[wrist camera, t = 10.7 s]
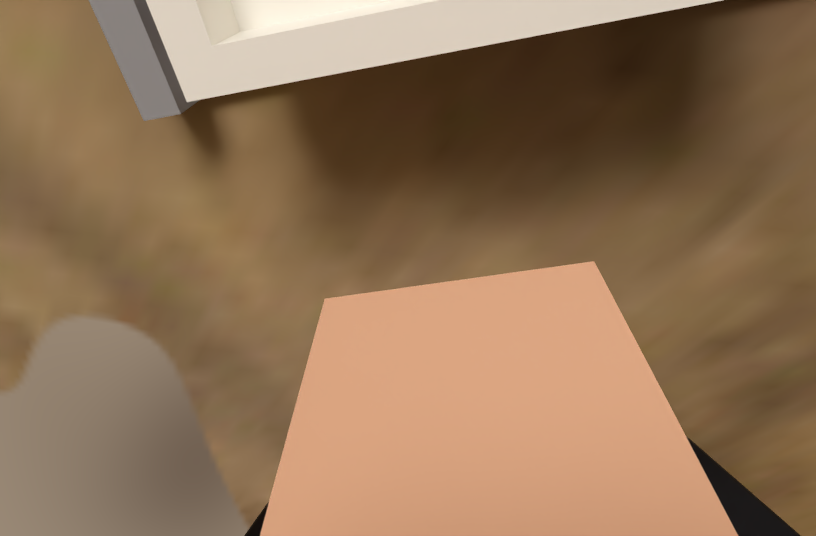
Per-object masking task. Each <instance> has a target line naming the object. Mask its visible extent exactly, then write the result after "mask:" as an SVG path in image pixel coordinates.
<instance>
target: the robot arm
mask: <svg viewBox="0 0 816 536" xmlns="http://www.w3.org/2000/svg"><path fill="white" fill-rule="evenodd" d="M686 437H687V436H686ZM687 439H688V441H689V443H690V445H691V447H692V449H693V451H694V453H695V455H696V456H697V458H698V460H699V462H700V464H701V466H702V468H703V470H704V472H705V474H706V475H707V477H708V479H709V481H710V483H711V485H712V487H713V489H714V491H715V493H716V494H717V496H718V498H719V500H720V502H721V504H722V506H723V508H724V510H725V512H726V514H727V515H728V517H729V519H730V521H731V523H732V525H733V527H734V529H735V531H736V533H737V534H738V536H800V535H799V534H798V533H797V532H796V531H795V530H794V529H792V528H791V527H790V526H789V525H788V524H787V523H786V522H784V521H783V520H782V519H781V518H780V517H779V516H777V515H776V514H775V513H774V512H773V511H772V510H771V509H769V508H768V507H767V506H766V505H765V504H764V503H763V502H761V501H760V500H759V499H758V498H757V497H756V496H755V495H753V494H752V493H751V492H750V491H749V490H748V489H746V488H745V487H744V486H743V485H742V484H741V483H740V482H738V481H737V480H736V479H735V478H734V477H733V476H732V475H730V474H729V473H728V472H727V471H726V470H725V469H723V468H722V467H721V466H720V465H719V464H718V463H717V462H715V461H714V460H713V459H712V458H711V457H710V456H709V455H707V454H706V453H705V452H704V451H703V450H702V449H701V448H699V447H698V446H697V445H696V444H695V443H694V442H692V441H691V440H690V439H689V438H688V437H687ZM268 504H269V502H268V503H267V505H266V506H265V508H264V509H263V510H262V512H261V513H260V515H259V516H258V517H257V519H256V520H255V522H254V523H253V524H252V526H251V527H250V529H249V530H248V531H247V533H246V534H245V536H260V533H261V529H262V526H263V522H264V519H265V515H266V511H267V508H268Z"/></svg>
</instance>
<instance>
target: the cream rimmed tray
mask: <svg viewBox="0 0 816 536" xmlns="http://www.w3.org/2000/svg"><path fill="white" fill-rule="evenodd" d="M717 1H722V0H146V2H147V5H148V7H149V10H150V12H151V15H152V17H153V20H154V22H155V25H156V27H157V30H158V32H159V34H160V37H161V39H162V42H163V44H164V47H165V49H166V52H167V54H168V57H169V59H170V62H171V64H172V67H173V69H174V72H175V74H176V76H177V79H178V81H179V84H180V86H181V89H182V91H183V94H184V96H185V99H186V101H187V102H191V101H196V100H201V99H206V98H212V97H217V96H222V95H228V94H233V93H238V92H243V91H249V90H254V89H259V88H264V87H270V86H275V85H280V84H285V83H291V82H296V81H301V80H307V79H312V78H317V77H322V76H328V75H333V74H338V73H343V72H349V71H354V70H359V69H364V68H370V67H375V66H380V65H385V64H391V63H396V62H401V61H407V60H412V59H417V58H422V57H428V56H433V55H438V54H443V53H449V52H454V51H459V50H464V49H470V48H475V47H480V46H486V45H491V44H496V43H501V42H507V41H512V40H517V39H522V38H528V37H533V36H538V35H543V34H549V33H554V32H559V31H564V30H570V29H575V28H580V27H586V26H591V25H596V24H601V23H607V22H612V21H617V20H622V19H628V18H633V17H638V16H643V15H649V14H654V13H659V12H665V11H670V10H675V9H680V8H686V7H691V6H696V5H701V4H707V3H712V2H717Z"/></svg>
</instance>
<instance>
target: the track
mask: <svg viewBox="0 0 816 536" xmlns="http://www.w3.org/2000/svg"><path fill="white" fill-rule="evenodd" d="M89 2H90V4H91V6H92V8H93V11H94V13H95V15H96V17H97V19H98V22H99V24H100V26H101V28H102V30H103V32H104V35H105V37H106V39H107V41H108V43H109V46H110V48H111V50H112V52H113V54H114V57H115V59H116V61H117V63H118V65H119V68H120V70H121V72H122V74H123V76H124V78H125V81H126V83H127V85H128V87H129V89H130V92H131V94H132V96H133V98H134V100H135V103H136V105H137V107H138V109H139V111H140V113H141V116H142V118H143V120H144V121H146V120H151V119H157V118H162V117H167V116H173V115H178V114H181V113H183V112H184V111H185V110H187V109H188V108H190V107H191V106H192V105H194V104H195V103H197V102H198V101H199V100H196V101H191V102H187V101H186V99H185V96H184V94H183V91H182V89H181V86H180V84H179V81H178V79H177V76H176V74H175V72H174V69H173V67H172V64H171V62H170V59H169V57H168V54H167V52H166V49H165V47H164V44H163V42H162V39H161V37H160V34H159V32H158V30H157V27H156V25H155V22H154V20H153V17H152V15H151V12H150V10H149V7H148V5H147V2H146V0H89Z"/></svg>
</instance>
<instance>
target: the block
mask: <svg viewBox="0 0 816 536" xmlns="http://www.w3.org/2000/svg"><path fill="white" fill-rule="evenodd" d="M260 536H738V534H737V533H736V531H735V529H734V527H733V525H732V523H731V521H730V519H729V517H728V515H727V514H726V512H725V510H724V508H723V506H722V504H721V502H720V500H719V498H718V496H717V494H716V493H715V491H714V489H713V487H712V485H711V483H710V481H709V479H708V477H707V475H706V474H705V472H704V470H703V468H702V466H701V464H700V462H699V460H698V458H697V456H696V455H695V453H694V451H693V449H692V447H691V445H690V443H689V441H688V439H687V437H686V435H685V434H684V432H683V430H682V428H681V426H680V424H679V422H678V420H677V418H676V416H675V415H674V413H673V411H672V409H671V407H670V405H669V403H668V401H667V399H666V397H665V396H664V394H663V392H662V390H661V388H660V386H659V384H658V382H657V380H656V378H655V377H654V375H653V373H652V371H651V369H650V367H649V365H648V363H647V361H646V359H645V357H644V356H643V354H642V352H641V350H640V348H639V346H638V344H637V342H636V340H635V338H634V337H633V335H632V333H631V331H630V329H629V327H628V325H627V323H626V321H625V319H624V318H623V316H622V314H621V312H620V310H619V308H618V306H617V304H616V302H615V300H614V298H613V297H612V295H611V293H610V291H609V289H608V287H607V285H606V283H605V281H604V279H603V278H602V276H601V274H600V272H599V270H598V268H597V266H596V264H595V262H594V261H593V262H586V263H579V264H571V265H564V266H557V267H550V268H543V269H535V270H528V271H521V272H514V273H507V274H499V275H492V276H485V277H478V278H471V279H463V280H456V281H449V282H442V283H435V284H427V285H420V286H413V287H406V288H399V289H391V290H384V291H377V292H370V293H363V294H355V295H348V296H341V297H334V298H327V299H325V300H324V303H323V307H322V311H321V314H320V318H319V322H318V325H317V329H316V333H315V336H314V340H313V344H312V347H311V351H310V354H309V358H308V362H307V365H306V369H305V373H304V376H303V380H302V384H301V387H300V391H299V395H298V398H297V402H296V406H295V409H294V413H293V416H292V420H291V424H290V427H289V431H288V435H287V438H286V442H285V446H284V449H283V453H282V457H281V460H280V464H279V468H278V471H277V475H276V478H275V482H274V486H273V489H272V493H271V497H270V500H269V504H268V508H267V511H266V515H265V519H264V522H263V526H262V529H261V533H260Z"/></svg>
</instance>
